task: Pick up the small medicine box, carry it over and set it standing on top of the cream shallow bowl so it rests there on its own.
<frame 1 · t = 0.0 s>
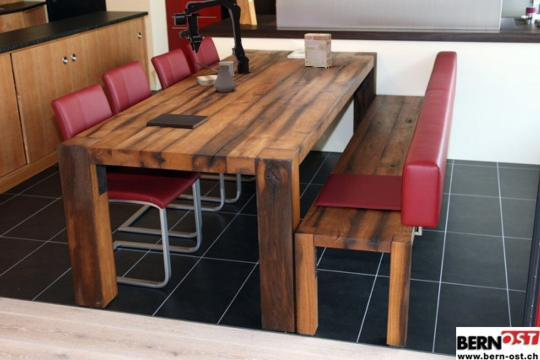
hand: (194, 51, 404), 15 cm above the table, tool pointing down, fingers open, 9 cm apart
cream shallow bowl: (209, 83, 392), on the table
coffee pot: (216, 90, 374), on the table
medicine box: (227, 77, 406), on the table
coffeecake box: (318, 66, 426), on the table
hardcover book: (178, 124, 314), on the table
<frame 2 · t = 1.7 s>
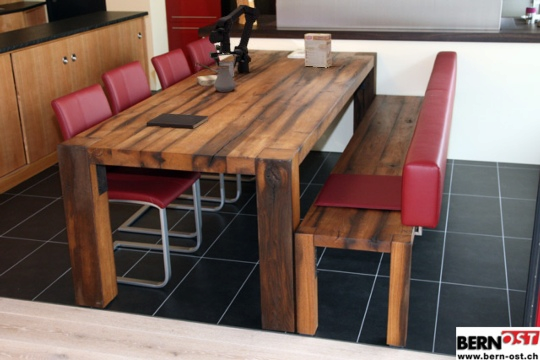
hand: (226, 68, 405), 5 cm above the table, tool pointing down, fingers open, 9 cm apart
medicine box: (227, 77, 407), on the table, touching gripper
everything else where it was.
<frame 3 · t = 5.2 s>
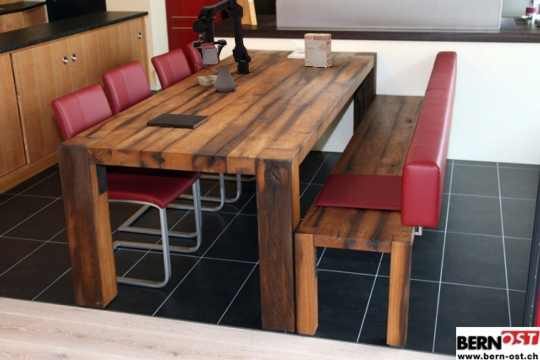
hand: (210, 59, 389), 13 cm above the table, tool pointing down, fingers closed on medicine box, 9 cm apart
medicine box: (210, 64, 390), point 10 cm above the table, touching gripper
everything else where it was.
when the fingers open (6 cm above the table, at t = 7.6 s): medicine box stays where it is, resting on cream shallow bowl.
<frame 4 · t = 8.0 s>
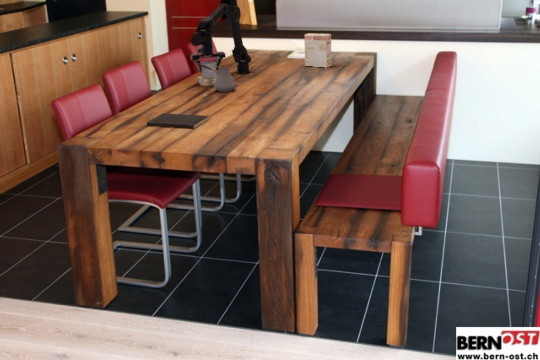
hand: (209, 71, 390), 6 cm above the table, tool pointing down, fingers open, 9 cm apart
medicine box: (209, 78, 391), point 3 cm above the table, touching cream shallow bowl
everything else where it was.
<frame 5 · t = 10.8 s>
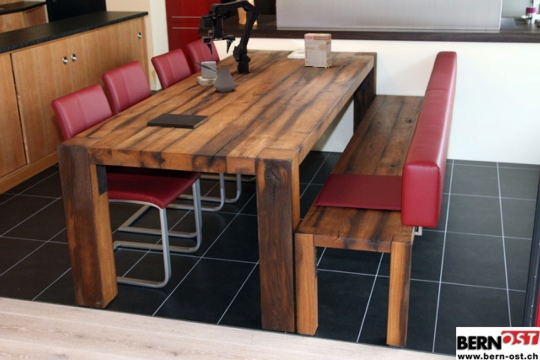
hand: (219, 54, 404), 13 cm above the table, tool pointing down, fingers open, 9 cm apart
nothing on the table moved.
at the end: medicine box inside the target area on the cream shallow bowl (0.1 cm from its centre), point 2.8 cm above the cream shallow bowl's base; medicine box tilted 0°; the gripper is holding nothing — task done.
